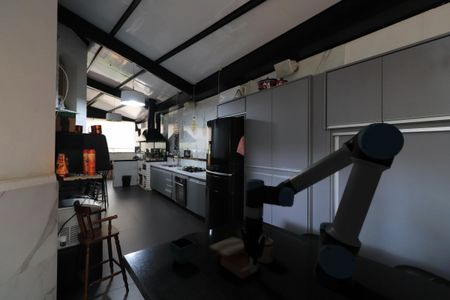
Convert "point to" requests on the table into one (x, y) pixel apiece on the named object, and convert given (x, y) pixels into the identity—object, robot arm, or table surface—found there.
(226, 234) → the table surface
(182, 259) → the flower pot
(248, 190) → the robot arm
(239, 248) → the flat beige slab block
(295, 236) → the table surface
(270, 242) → the teacup with lid
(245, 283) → the table surface
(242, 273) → the tile
